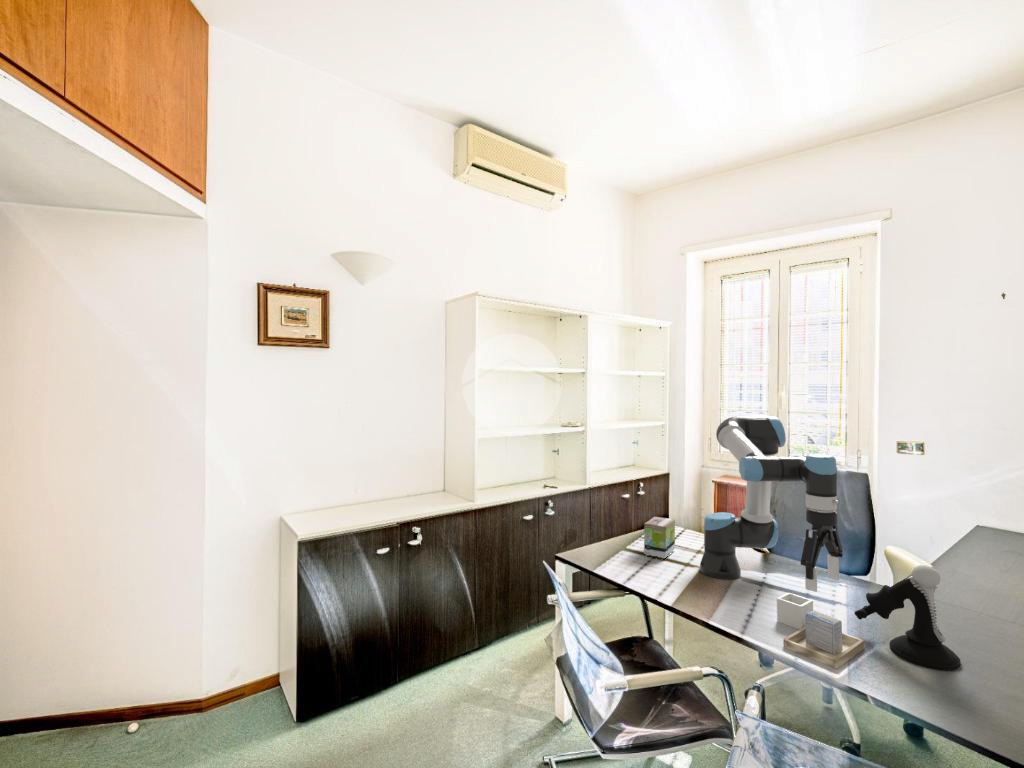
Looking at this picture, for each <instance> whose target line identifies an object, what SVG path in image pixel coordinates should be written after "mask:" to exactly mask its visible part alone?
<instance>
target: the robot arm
mask: <svg viewBox="0 0 1024 768" xmlns="http://www.w3.org/2000/svg"><path fill="white" fill-rule="evenodd" d="M715 435H716V436H715V437H716V439H717V442H718V443H719V444H720V446H721V447H722V448H723V449H726V450H728V452H730V453H731V455H733V457H734V458H735V459H736V461H738V471H739V475H740V478H741V479H742V480H743V481H746V491H745V507H744V509H743V510H741V511H740V517H739V516H738V517H736V515H735V514H734V513H731V512H724V511H723V512H722V511H721V512H712V513H710V514H708V515H706V516H705V517H704V520H703V521H704V522H703V537H704V539H703V541H704V542H703V544H704V545H703V546H704V548H703V549H704V551H703V554H702V558H701V560H700V563H699V571H700V573H702V574H703V575H705V576H708V577H709V578H710V577H711V578H716V579H720V580H734V579H739V578H741V575H742V573H741V571H742V570H741V567H740V563H739V560H738V558H737V556H736V549H737V548H743V549H748V548H749V549H760V550H762V549H772V548H774V546H776V544H777V543H778V540H779V524H778V522H777V520H776V519H774V516H773V515H772V514H771V512H770V510H771V509H770V508H771V506H770V505H771V495H772V494H771V492H772V483H773V482H780V483H781V482H782V483H804V484H805V507H806V509H805V520H806V522H807V523H809V524H810V525H812V526H811V529H805V537H804V538H805V539H804V544H803V549H802V554H801V559H800V565H801V566H804V572H805V573H804V574H805V575H804V576H805V590H808V591H811V592H813V593H817V592H818V567H816V565H817V562H818V559H819V556H820V552H821V549H822V548H823V547H824V546H825V548H826V551H827V552H828V554H827V555H826V556H827V557H826V558H827V562H826V563H827V578H828V579H831V580H835V581H839V580H840V562H839V561H840V560H839V559H840V558H843V556H844V555H843V547H842V544H841V540H840V536H839V532H838V512H837V511H836V510H838V504H840V503H839V500H838V497H837V495H838V482H837V481H838V477H837V476H838V474H837V473H838V467H837V460H836V458H835V456H833V455H830V454H821V453H810V454H807V455H799V454H798V455H793V456H776V455H778V453H779V448H783V447H784V446H785V444H786V440H787V439H786V431H785V428H784V425H783V423H782V421H781V419H780V418H778V417H777V416H773V415H772V416H769V415H752V416H751V415H750V416H749V415H746V416H745V415H742V416H741V415H736V416H731V417H728V418H726V419H724V420H723V421H722V422H721V423H720V424H719V425H718V426H717V429H716V433H715Z"/></svg>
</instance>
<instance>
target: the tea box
mask: <svg viewBox="0 0 1024 768" xmlns="http://www.w3.org/2000/svg"><path fill="white" fill-rule="evenodd" d="M643 527H644V530H643V532H644V533H643V534H644V535H643V536H644V538H643V539H644V540H643V547H644V548H643V555H644V554H646V555H652V556H658V557H662V558H666V557H667V556H668V557H670V556H671V554H670V553H672V552H673V550H674V549H675V550H676V519H673V518H667V517H661V516H660V517H659V516H653V517H651V518H650V519H649V520H648V521H646V522H644V526H643ZM673 553H674V552H673ZM673 553H672V554H673ZM669 555H670V556H669ZM668 557H667V558H668ZM667 558H666V559H667Z"/></svg>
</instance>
